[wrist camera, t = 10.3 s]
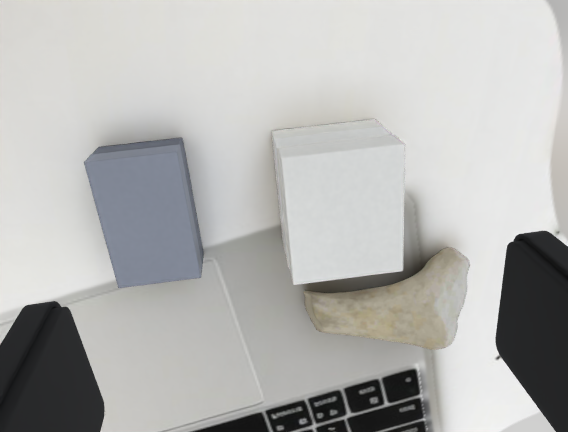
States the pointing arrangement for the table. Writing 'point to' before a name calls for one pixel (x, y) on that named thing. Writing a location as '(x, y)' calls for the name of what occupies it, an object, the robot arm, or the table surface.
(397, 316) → the stone
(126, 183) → the grey-blue block
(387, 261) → the white book
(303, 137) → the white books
